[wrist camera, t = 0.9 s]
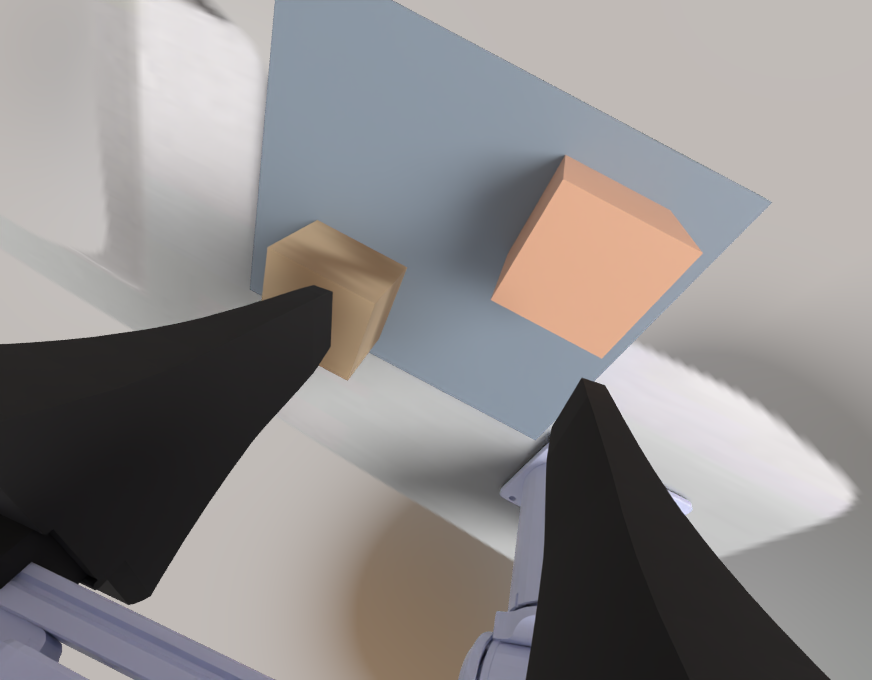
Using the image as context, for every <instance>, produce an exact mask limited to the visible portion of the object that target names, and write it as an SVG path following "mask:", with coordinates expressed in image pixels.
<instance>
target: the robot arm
mask: <svg viewBox="0 0 872 680" xmlns="http://www.w3.org/2000/svg"><path fill="white" fill-rule="evenodd" d="M332 302H333V292H332V291H330V290H327V289H324V288H321V287H318V286H315V285H312V286H308V287H304V288H300V289H297V290H294V291H290V292H287V293H284V294H281V295H278V296H275V297H272V298H269V299H265V300H262V301H259V302H256V303H253V304H250V305H246V306H243V307H240V308H236V309H232V310H229V311H225V312H221V313H218V314H214V315H211V316H207V317H203V318H199V319H195V320H191V321H186V322H182V323H177V324H172V325H167V326H162V327H157V328H152V329H146V330H139V331H132V332H125V333H118V334H111V335H104V336H98V337H90V338H79V339H69V340H60V341H59V340H58V341H45V342H33V343H16V344H0V680H89V679H87V678H85V677H83V676H81V675H79V674H78V673H76V672H74V671H72V670H70V669H68V668H66V667H65V666H63V665H61V664H59V663H58V662H59V658H60V656H61V653H62V644H61V643H64V644H65V645H67V646H69V647H71V648H73V649H75V650H77V651H79V652H81V653H83V654H85V655H87V656H89V657H91V658H93V659H95V660H97V661H99V662H101V663H103V664H105V665H107V666H109V667H111V668H113V669H115V670H116V671H118V672H120V673H122V674H124V675H126V676H128V677H130V678H132V679H134V680H275V679H272V678H270V677H268V676H266V675H264V674H262V673H260V672H258V671H256V670H254V669H251V668H250V667H247V666H246V665H243V664H241V663H239V662H237V661H235V660H233V659H231V658H229V657H227V656H225V655H223V654H220V653H218V652H217V651H215V650H212V649H210V648H208V647H206V646H204V645H202V644H200V643H198V642H196V641H194V640H192V639H190V638H187V637H186V636H183V635H181V634H179V633H177V632H175V631H173V630H171V629H169V628H167V627H165V626H163V625H161V624H159V623H157V622H154V621H153V620H150V619H148V618H146V617H144V616H142V615H140V614H138V613H136V612H134V611H132V610H130V609H128V608H125V607H123V606H121V605H119V604H117V603H115V602H113V601H111V600H109V599H107V598H105V597H103V596H101V595H99V594H97V593H95V592H92V591H90V590H88V589H86V588H84V587H82V586H80V585H78V584H79V583H81V584H83V585H86V586H87V587H89V588H92V589H94V590H99V591H101V592H103V593H105V594H107V595H109V596H111V597H113V598H116V599H117V600H120V601H122V602H124V603H126V604H128V605H130V604H135V603H137V602H140V601H142V600H144V599H146V598H148V597H150V596H151V595H152V593H153V591H154V589H155V587H156V586H157V584H158V583H159V581H160V579H161V577H162V576H163V574H164V573H165V571H166V569H167V568H168V566H169V564H170V563H171V561H172V560H173V558H174V556H175V555H176V553H177V551H178V550H179V548H180V546H181V545H182V543H183V542H184V540H185V538H186V537H187V535H188V534H189V532H190V531H191V529H192V528H193V526H194V525H195V523H196V522H197V520H198V518H199V517H200V515H201V513H202V512H203V511H204V509H205V508H206V506H207V505H208V503H209V501H210V500H211V499H212V497H213V496H214V494H215V493H216V491H217V490H218V489H219V487H220V486H221V484H222V483H223V481H224V480H225V478H226V477H227V476H228V474H229V473H230V471H231V470H232V469H233V467H234V466H235V465H236V463H237V462H238V460H239V459H240V458H241V456H242V455H243V454H244V452H245V451H246V450H247V448H248V447H249V445H250V444H251V442H253V440H254V439H255V438H256V437H257V435H258V434H259V433H260V432H261V430H262V429H263V428H264V427H265V426H266V425H267V424H268V423H269V422H270V420H271V419H272V418H273V417H274V416H275V415H276V414H277V413H278V412H279V411H280V410H281V408H282V407H283V406H284V405H285V404H286V403H287V402H288V401H289V400H290V399H291V397H292V396H293V395H294V394H295V393H296V392H297V391H298V390H299V389H300V387H301V386H302V385H303V384H304V383H305V382H306V381H307V380H308V379H309V377H310V376H311V375H312V374H313V373H314V371H315V370H316V368H317V367H318V366H319V364H320V363H321V361H322V360H323V358H324V357H325V355H326V354H327V352H328V350H329V349H330V347H331V329H332ZM500 495H501V497H503V498H504V499H506V500H508V501H510V502H512V503H514V504H516V505H517V506H519V507H521V508H520V516H519V524H518V532H517V541H516V549H515V557H514V566H513V575H512V583H511V591H510V599H509V607H508V612H501V611H497V612H496V617H495V624H494V632H485V633H483V634H481V635H480V636H479V637H478V639H477V640H476V641H475V643H474V645H473V646H472V648H471V649H470V650H469V652H468V654H467V655H466V658H465V660H464V663H463V666H462V668H461V671H460V675H459V679H458V680H830V679H829V678H828V677H827V676H826V675H825V674H824V673H823V672H822V671H821V670H820V669H819V668H818V667H817V666H816V665H815V664H814V663H813V661H812V660H811V659H810V658H809V657H808V656H806V654H805V653H804V652H803V651H802V650H801V649H800V648H799V647H798V646H797V645H796V644H795V643H794V642H793V641H792V640H791V639H790V638H789V637H788V635H787V634H786V633H785V632H784V631H783V630H782V629H781V628H780V627H779V626H778V625H777V624H776V623H775V622H774V621H773V620H772V618H771V617H770V616H769V615H768V614H767V613H766V612H765V611H764V610H763V609H762V607H760V605H759V604H758V603H757V602H756V601H755V600H754V599H753V598H752V596H751V595H750V594H749V593H748V592H747V591H746V590H745V588H744V587H743V586H742V585H741V584H740V583H739V581H738V580H737V579H736V578H735V577H734V576H733V575H732V573H731V572H730V571H729V570H728V569H727V568H726V566H725V565H724V564H723V563H722V562H721V561H720V559H719V558H718V557H717V556H716V554H715V553H714V552H713V551H712V549H711V548H710V547H709V546H708V545H707V543H706V542H705V541H704V539H703V538H702V537H701V536H700V534H699V533H698V532H697V530H696V529H695V528H694V526H693V525H692V524H691V522H690V521H689V520H688V518H687V517H686V516H685V515H686V514H688V513H690V512H691V511H692V509H693V508H692V505H691V502H689V501H688V500H686V499H684V498H682V497H680V496H679V495H677V494H675V493H673V492H671V491H669V490H667V489H666V487H665V486H664V484H663V483H662V481H661V480H660V478H659V477H658V475H657V474H656V472H655V471H654V469H653V468H652V466H651V465H650V463H649V461H648V460H647V458H646V457H645V455H644V453H643V452H642V450H641V448H640V447H639V445H638V443H637V441H636V440H635V438H634V436H633V435H632V433H631V431H630V429H629V427H628V426H627V424H626V422H625V420H624V419H623V417H622V415H621V413H620V411H619V409H618V408H617V406H616V404H615V402H614V400H613V399H612V397H611V395H610V393H609V391H608V390H607V388H606V386H605V385H602V384H599V383H597V382H594V381H591V380H588V379H585V378H581V379H580V381H579V383H578V384H577V386H576V388H575V389H574V391H573V393H572V394H571V396H570V398H569V399H568V401H567V403H566V404H565V406H564V408H563V409H562V411H561V413H560V414H559V416H558V418H557V419H556V421H555V423H554V424H553V426H552V429H551V435H550V441H549V443H548V444H547V445H546V446H544V447H543V448H542V449H541V450H540V451H539V452H538V453H537V454H536V455H535V456H534V457H533V458H532V459H531V460H530V461H529V462H528V463H527V464H526V465H525V466H524V467H523V468H522V469H520V470H519V471H518V472H517V473H516V474H515V475H514V476H513V477H512V478H511V479H510V480H509V481H508V482H507V483H506V484H505V485H504V486H503V487H502V488H501V489H500ZM60 642H61V643H60Z"/></svg>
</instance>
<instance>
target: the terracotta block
mask: <svg viewBox="0 0 872 680" xmlns="http://www.w3.org/2000/svg"><path fill="white" fill-rule="evenodd" d="M702 254H703V252H702V251H701V250H700V249H699V247H698V246H697V245H696V243H695V242H694V241H693V239H692V238H691V237H690V235H689V234H688V233H687V231H686V230H685V229H684V228H683V226H682V225H681V224H680V222H679V221H678V220H677V218H676V217H675V216H674V214H673V213H672V212H671V210H669V209H667V208H665V207H663V206H661V205H659V204H658V203H656V202H654V201H652V200H650V199H648V198H646V197H644V196H642V195H641V194H639V193H637V192H635V191H633V190H631V189H629V188H627V187H625V186H624V185H622V184H620V183H618V182H616V181H614V180H612V179H610V178H608V177H607V176H605V175H603V174H601V173H599V172H597V171H595V170H593V169H592V168H590V167H588V166H586V165H584V164H582V163H580V162H578V161H576V160H575V159H573V158H571V157H569V156H567V155H565V156H564V158H563V160H562V161H561V163H560V165H559V167H558V168H557V170H556V172H555V173H554V175H553V177H552V179H551V180H550V182H549V184H548V186H547V187H546V189H545V191H544V192H543V194H542V196H541V198H540V199H539V201H538V203H537V204H536V206H535V208H534V210H533V211H532V213H531V215H530V216H529V218H528V220H527V222H526V223H525V225H524V227H523V229H522V230H521V232H520V234H519V235H518V237H517V239H516V241H515V242H514V244H513V246H512V247H511V249H510V251H509V253H508V254H507V257H506V260H505V262H504V265H503V268H502V271H501V273H500V276H499V279H498V281H497V284H496V287H495V289H494V292H493V295H492V298H491V300H492V301H494V302H496V303H497V304H499V305H501V306H503V307H505V308H507V309H509V310H511V311H513V312H514V313H516V314H518V315H520V316H522V317H524V318H526V319H528V320H530V321H531V322H533V323H535V324H537V325H539V326H541V327H543V328H545V329H547V330H548V331H550V332H552V333H554V334H556V335H558V336H560V337H562V338H564V339H565V340H567V341H569V342H571V343H573V344H575V345H577V346H579V347H581V348H582V349H584V350H586V351H588V352H590V353H592V354H594V355H596V356H598V357H600V358H601V359H602V358H603V357H604V356H605V355H606V354H607V353H608V352H609V351H610V350H611V349H612V348H613V346H614V345H615V344H616V343H617V342H618V341H619V340H620V339H621V338H622V337H623V336H624V335H625V334H626V333H627V332H628V331H629V330H630V329H631V328H632V327H633V326H634V325H635V324H636V323H637V321H638V320H639V319H640V318H641V317H642V316H643V315H644V314H645V313H646V312H647V311H648V310H649V309H650V308H651V307H652V306H653V305H654V304H655V303H656V302H657V301H658V300H659V299H660V297H661V296H662V295H663V294H664V293H665V292H666V291H667V290H668V289H669V288H670V287H671V286H672V285H673V284H674V283H675V282H676V281H677V280H678V279H679V278H680V277H681V276H682V275H683V274H684V272H685V271H686V270H687V269H688V268H689V267H690V266H691V265H692V264H693V263H694V262H695V261H696V260H697V259H698V258H699V257H700V256H701V255H702Z"/></svg>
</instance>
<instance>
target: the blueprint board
mask: <svg viewBox="0 0 872 680" xmlns="http://www.w3.org/2000/svg"><path fill="white" fill-rule="evenodd" d="M565 155H567V156H569V157H571V158H573V159H575V160H576V161H578V162H580V163H582V164H584V165H586V166H588V167H590V168H592V169H593V170H595V171H597V172H599V173H601V174H603V175H605V176H607V177H608V178H610V179H612V180H614V181H616V182H618V183H620V184H622V185H624V186H625V187H627V188H629V189H631V190H633V191H635V192H637V193H639V194H641V195H642V196H644V197H646V198H648V199H650V200H652V201H654V202H656V203H658V204H659V205H661V206H663V207H665V208H667V209H669V210H671V212H672V213H673V214H674V216H675V217H676V218H677V220H678V221H679V222H680V224H681V225H682V226H683V228H684V229H685V230H686V231H687V233H688V234H689V235H690V237H691V238H692V239H693V241H694V242H695V243H696V245H697V246H698V247H699V249H700V250H701V251H702V252H703V254H702V255H701V256H700V257H699V258H698V259H697V260H696V261H695V262H694V263H693V264H692V265H691V266H690V267H689V268H688V269H687V270H686V271H685V272H684V274H683V275H682V276H681V277H680V278H679V279H678V280H677V281H676V282H675V283H674V284H673V285H672V286H671V287H670V288H669V289H668V290H667V291H666V292H665V293H664V294H663V295H662V296H661V297H660V299H659V300H658V301H657V302H656V303H655V304H654V305H653V306H652V307H651V308H650V309H649V310H648V311H647V312H646V313H645V314H644V315H643V316H642V317H641V318H640V319H639V320H638V321H637V323H636V324H635V325H634V326H633V327H632V328H631V329H630V330H629V331H628V332H627V333H626V334H625V335H624V336H623V337H622V338H621V339H620V340H619V341H618V342H617V343H616V344H615V345H614V346H613V348H612V349H611V350H610V351H609V352H608V353H607V354H606V355H605V356H604V357H603V358H602V359H601V358H600V357H598V356H596V355H594V354H592V353H590V352H588V351H586V350H584V349H582V348H581V347H579V346H577V345H575V344H573V343H571V342H569V341H567V340H565V339H564V338H562V337H560V336H558V335H556V334H554V333H552V332H550V331H548V330H547V329H545V328H543V327H541V326H539V325H537V324H535V323H533V322H531V321H530V320H528V319H526V318H524V317H522V316H520V315H518V314H516V313H514V312H513V311H511V310H509V309H507V308H505V307H503V306H501V305H499V304H497V303H496V302H494V301H492V300H491V298H492V295H493V292H494V289H495V287H496V284H497V281H498V279H499V276H500V273H501V271H502V268H503V265H504V262H505V260H506V257H507V254H508V253H509V251H510V249H511V247H512V246H513V244H514V242H515V241H516V239H517V237H518V235H519V234H520V232H521V230H522V229H523V227H524V225H525V223H526V222H527V220H528V218H529V216H530V215H531V213H532V211H533V210H534V208H535V206H536V204H537V203H538V201H539V199H540V198H541V196H542V194H543V192H544V191H545V189H546V187H547V186H548V184H549V182H550V180H551V179H552V177H553V175H554V173H555V172H556V170H557V168H558V167H559V165H560V163H561V161H562V160H563V158H564V156H565ZM771 203H772V202H770V201H769V200H767V199H766V198H764V197H762V196H760V195H758V194H756V193H755V192H753V191H750V190H749V189H747V188H745V187H743V186H741V185H739V184H738V183H736V182H734V181H732V180H730V179H728V178H726V177H724V176H723V175H721V174H719V173H717V172H715V171H713V170H711V169H709V168H707V167H705V166H704V165H702V164H699V163H698V162H696V161H694V160H692V159H690V158H689V157H687V156H685V155H683V154H681V153H679V152H677V151H675V150H673V149H672V148H670V147H668V146H666V145H664V144H662V143H660V142H658V141H657V140H655V139H653V138H651V137H649V136H647V135H645V134H643V133H641V132H640V131H638V130H635V129H634V128H632V127H630V126H628V125H626V124H624V123H623V122H621V121H619V120H617V119H615V118H613V117H611V116H609V115H608V114H606V113H603V112H602V111H600V110H598V109H596V108H594V107H592V106H591V105H589V104H587V103H585V102H583V101H581V100H579V99H577V98H575V97H574V96H571V95H570V94H568V93H566V92H564V91H562V90H560V89H558V88H557V87H555V86H553V85H551V84H549V83H547V82H545V81H544V80H541V79H540V78H538V77H536V76H534V75H532V74H530V73H528V72H526V71H525V70H523V69H521V68H519V67H517V66H515V65H513V64H511V63H510V62H508V61H506V60H504V59H502V58H500V57H498V56H496V55H495V54H493V53H491V52H489V51H487V50H485V49H483V48H481V47H479V46H478V45H476V44H474V43H472V42H470V41H468V40H466V39H464V38H462V37H460V36H459V35H457V34H455V33H453V32H451V31H449V30H447V29H445V28H444V27H441V26H440V25H438V24H436V23H434V22H432V21H430V20H429V19H427V18H425V17H423V16H421V15H419V14H417V13H415V12H413V11H412V10H410V9H408V8H406V7H404V6H402V5H400V4H398V3H397V2H395V1H393V0H275V6H274V18H273V30H272V41H271V53H270V64H269V76H268V87H267V99H266V110H265V122H264V133H263V145H262V156H261V168H260V179H259V191H258V202H257V214H256V225H255V237H254V248H253V260H252V271H251V283H250V290H252V291H254V292H256V293H258V294H259V295H261V296H262V292H263V283H264V275H265V266H266V257H267V248H268V247H269V246H271V245H272V244H274V243H276V242H278V241H280V240H282V239H283V238H285V237H287V236H289V235H291V234H293V233H294V232H296V231H298V230H300V229H302V228H304V227H305V226H307V225H309V224H311V223H313V222H315V221H316V220H319V221H320V222H322V223H324V224H326V225H328V226H330V227H332V228H334V229H336V230H337V231H339V232H341V233H343V234H345V235H347V236H349V237H351V238H353V239H354V240H356V241H358V242H360V243H362V244H364V245H366V246H368V247H370V248H372V249H373V250H375V251H377V252H379V253H381V254H383V255H385V256H387V257H389V258H390V259H392V260H394V261H396V262H398V263H400V264H402V265H404V266H406V267H407V270H406V272H405V275H404V277H403V280H402V282H401V285H400V287H399V290H398V292H397V295H396V297H395V300H394V302H393V305H392V307H391V310H390V312H389V315H388V317H387V320H386V322H385V325H384V328H383V330H382V333H381V335H380V338H379V339H378V341H377V342H376V343H375V345H374V346H373V347H372V349H371V350H370V351H369V353H371V354H373V355H375V356H377V357H379V358H381V359H383V360H384V361H386V362H388V363H390V364H392V365H394V366H396V367H398V368H400V369H401V370H403V371H405V372H407V373H409V374H411V375H413V376H415V377H417V378H419V379H420V380H422V381H424V382H426V383H428V384H430V385H432V386H434V387H436V388H437V389H439V390H441V391H443V392H445V393H447V394H449V395H451V396H453V397H454V398H456V399H458V400H460V401H462V402H464V403H466V404H468V405H470V406H472V407H473V408H475V409H477V410H479V411H481V412H483V413H485V414H487V415H489V416H490V417H492V418H494V419H496V420H498V421H500V422H502V423H504V424H506V425H507V426H509V427H511V428H513V429H515V430H517V431H519V432H521V433H523V434H525V435H526V436H528V437H530V438H532V439H534V440H536V439H537V438H538V437H539V436H540V435H541V434H542V433H543V432H544V431H545V430H546V429H547V428H548V427H549V426H550V425H551V424H552V423H553V422H554V421H555V420H556V419H557V418H558V416H559V414H560V413H561V411H562V409H563V408H564V406H565V404H566V403H567V401H568V399H569V398H570V396H571V394H572V393H573V391H574V389H575V388H576V386H577V384H578V383H579V381H580V379H581V378H585V379H588V380H591V381H595V380H596V379H597V378H598V377H599V376H600V375H601V374H602V373H603V372H604V371H605V370H606V369H607V368H608V367H609V366H610V365H611V364H612V363H613V362H614V361H615V360H616V359H617V358H618V357H619V356H620V355H621V354H622V353H623V352H624V351H625V350H626V349H627V348H628V347H629V346H630V345H631V344H632V343H633V342H634V341H635V340H636V339H637V338H638V337H639V336H640V335H641V334H642V333H643V332H644V330H646V329H647V328H648V327H649V326H650V325H651V324H652V323H653V322H654V321H655V320H656V319H657V318H658V317H659V316H660V315H661V314H662V313H663V311H665V310H666V309H667V308H668V307H669V305H670V304H671V303H673V301H675V300H676V299H677V298H678V296H680V294H681V293H682V292H684V291H685V289H686V288H687V287H688V286H689V285H690V284H691V283H692V282H693V281H694V280H695V279H696V278H697V277H698V276H699V275H700V274H701V273H702V272H703V271H704V270H705V269H706V268H707V267H708V266H709V265H710V264H711V263H712V262H713V261H714V260H715V259H716V258H717V257H718V256H719V255H720V254H721V253H722V252H723V251H724V250H725V249H726V248H727V247H728V246H729V245H730V244H731V243H732V242H733V241H734V240H735V239H736V238H737V237H738V236H739V235H740V234H741V233H742V232H743V231H744V230H745V229H746V228H747V227H748V226H749V225H750V224H751V223H752V222H753V221H754V220H755V219H756V218H757V217H758V216H759V215H760V214H761V213H762V212H763V211H764V210H765V209H766V208H767V207H768V206H769V205H770V204H771Z"/></svg>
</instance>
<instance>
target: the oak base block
mask: <svg viewBox="0 0 872 680" xmlns="http://www.w3.org/2000/svg"><path fill="white" fill-rule="evenodd" d="M406 270H407V267H406V266H404V265H402V264H400V263H398V262H396V261H394V260H392V259H390V258H389V257H387V256H385V255H383V254H381V253H379V252H377V251H375V250H373V249H372V248H370V247H368V246H366V245H364V244H362V243H360V242H358V241H356V240H354V239H353V238H351V237H349V236H347V235H345V234H343V233H341V232H339V231H337V230H336V229H334V228H332V227H330V226H328V225H326V224H324V223H322V222H320V221H319V220H316V221H315V222H313V223H311V224H309V225H307V226H305V227H304V228H302V229H300V230H298V231H296V232H294V233H293V234H291V235H289V236H287V237H285V238H283V239H282V240H280V241H278V242H276V243H274V244H272V245H271V246H269V247H268V248H267V257H266V266H265V275H264V283H263V292H262V300H265V299H269V298H272V297H275V296H278V295H281V294H284V293H287V292H290V291H294V290H297V289H300V288H304V287H308V286H312V285H315V286H318V287H321V288H324V289H327V290H330V291H332V292H333V302H332V329H331V347H330V349H329V350H328V352H327V354H326V355H325V357H324V358H323V360H322V361H321V363H320V364H319V366H321V367H323V368H325V369H326V370H328V371H330V372H332V373H334V374H336V375H338V376H340V377H342V378H343V379H345V380H347V381H348V379H349V378H350V377H351V375H352V374H353V373H354V371H355V370H356V369H357V367H358V366H359V365H360V363H361V362H362V361H363V359H364V358H365V357H366V355H367V354H368V353H369V351H370V350H371V349H372V347H373V346H374V345H375V343H376V342H377V341H378V339H379V338H380V335H381V333H382V330H383V328H384V325H385V322H386V320H387V317H388V315H389V312H390V310H391V307H392V305H393V302H394V300H395V297H396V295H397V292H398V290H399V287H400V285H401V282H402V280H403V277H404V275H405V272H406Z"/></svg>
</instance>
